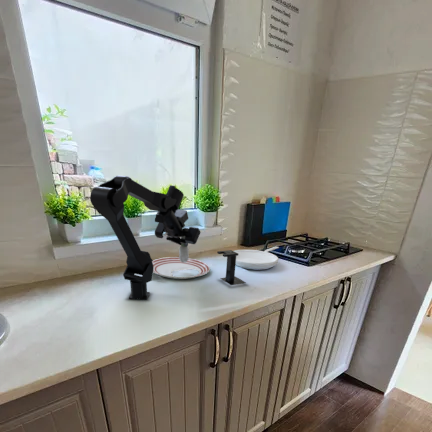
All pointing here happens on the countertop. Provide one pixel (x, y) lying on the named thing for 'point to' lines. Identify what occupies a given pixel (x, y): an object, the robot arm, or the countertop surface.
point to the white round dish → (256, 259)
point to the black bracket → (230, 267)
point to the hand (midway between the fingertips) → (184, 245)
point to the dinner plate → (178, 267)
